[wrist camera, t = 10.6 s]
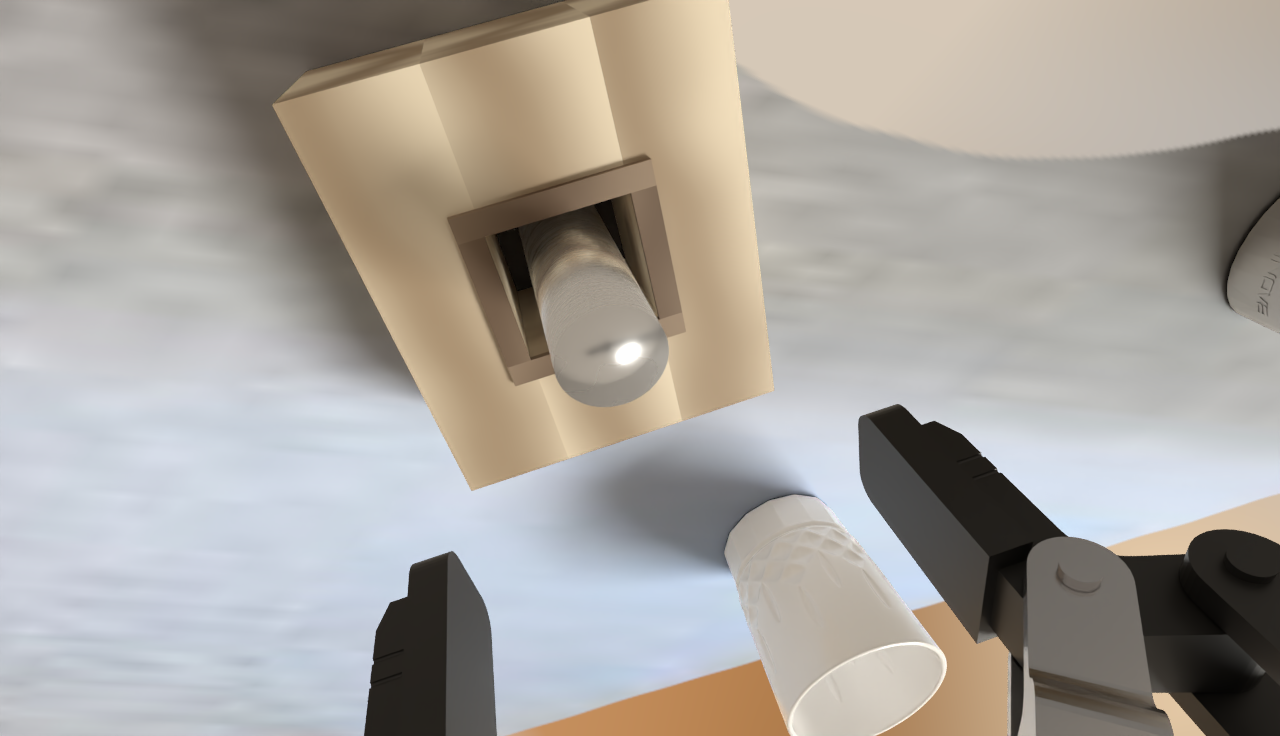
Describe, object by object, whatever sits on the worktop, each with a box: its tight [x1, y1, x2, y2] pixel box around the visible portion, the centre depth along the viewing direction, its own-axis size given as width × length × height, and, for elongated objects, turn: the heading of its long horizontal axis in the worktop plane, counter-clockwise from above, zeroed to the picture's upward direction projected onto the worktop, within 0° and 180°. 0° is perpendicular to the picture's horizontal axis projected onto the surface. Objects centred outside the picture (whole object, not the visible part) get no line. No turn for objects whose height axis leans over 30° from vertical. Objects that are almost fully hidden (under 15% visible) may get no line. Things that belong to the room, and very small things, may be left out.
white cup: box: [724, 494, 947, 736], centre depth 34 cm, size 8×8×10 cm
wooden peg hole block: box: [272, 0, 774, 491], centre depth 23 cm, size 12×14×5 cm
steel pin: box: [518, 204, 669, 407], centre depth 21 cm, size 3×3×10 cm
